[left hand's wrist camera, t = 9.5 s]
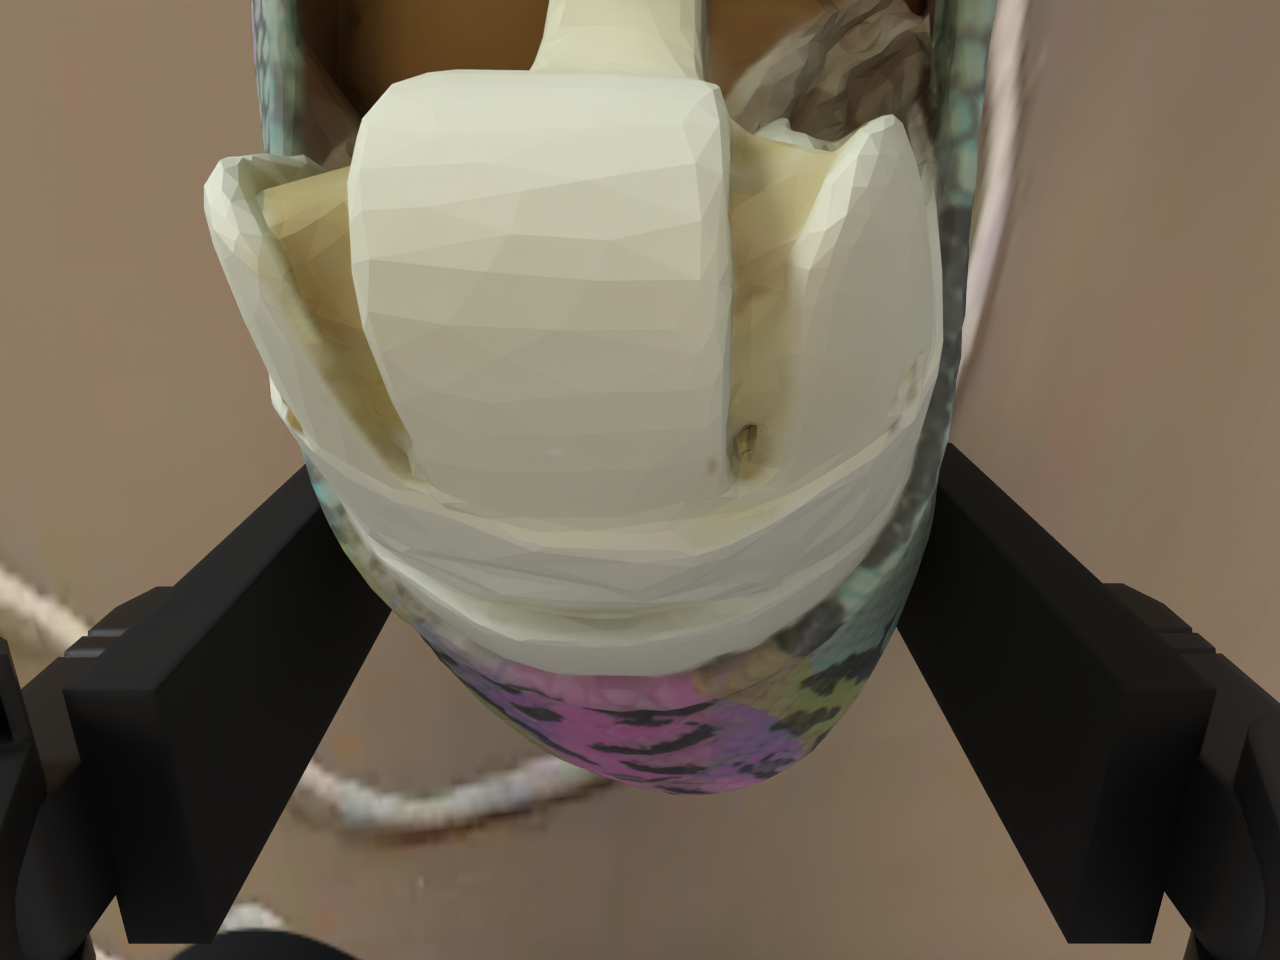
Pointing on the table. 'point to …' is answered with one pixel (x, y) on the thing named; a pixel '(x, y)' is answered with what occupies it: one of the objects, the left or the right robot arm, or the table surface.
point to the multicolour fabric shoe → (620, 342)
